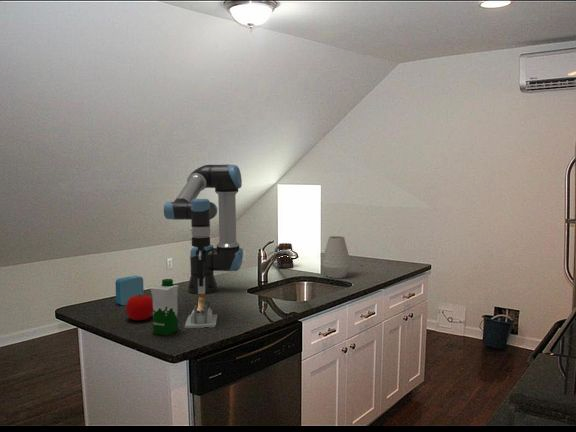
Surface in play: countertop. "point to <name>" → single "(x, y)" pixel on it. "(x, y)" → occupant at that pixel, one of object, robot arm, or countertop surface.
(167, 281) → the milk carton
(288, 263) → the mug
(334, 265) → the vase
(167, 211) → the robot arm
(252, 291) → the countertop surface
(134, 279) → the light blue flat block
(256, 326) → the countertop surface
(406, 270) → the countertop surface
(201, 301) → the wooden bar
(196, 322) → the base
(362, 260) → the countertop surface
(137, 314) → the tomato
